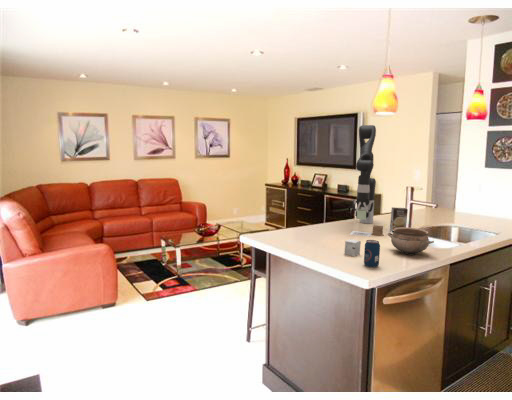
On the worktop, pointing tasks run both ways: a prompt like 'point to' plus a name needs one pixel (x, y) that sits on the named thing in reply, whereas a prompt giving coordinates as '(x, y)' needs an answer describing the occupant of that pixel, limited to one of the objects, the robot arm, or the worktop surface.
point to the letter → (360, 233)
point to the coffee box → (398, 218)
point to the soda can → (371, 253)
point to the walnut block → (377, 230)
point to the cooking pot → (410, 240)
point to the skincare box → (352, 247)
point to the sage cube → (361, 214)
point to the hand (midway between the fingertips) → (361, 217)
